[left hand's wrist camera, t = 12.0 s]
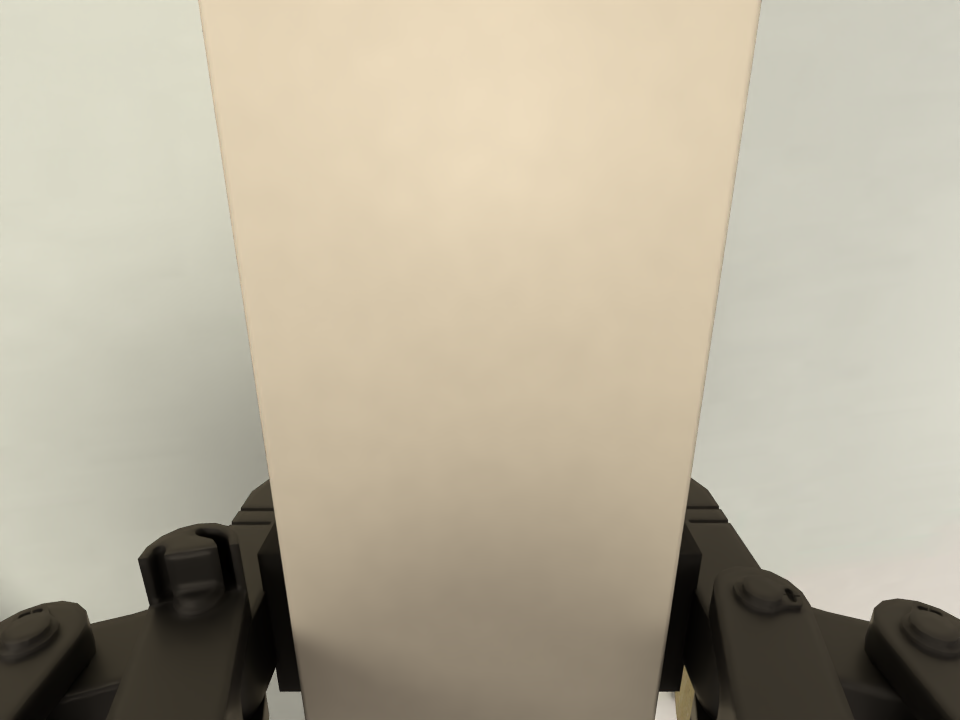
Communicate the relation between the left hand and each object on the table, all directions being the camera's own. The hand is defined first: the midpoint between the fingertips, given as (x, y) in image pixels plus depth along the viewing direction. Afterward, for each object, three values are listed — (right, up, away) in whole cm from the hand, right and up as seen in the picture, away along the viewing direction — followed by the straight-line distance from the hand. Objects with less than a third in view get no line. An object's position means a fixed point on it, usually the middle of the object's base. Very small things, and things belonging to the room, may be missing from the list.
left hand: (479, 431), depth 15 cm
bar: (0, +21, -7) cm, 23 cm away
